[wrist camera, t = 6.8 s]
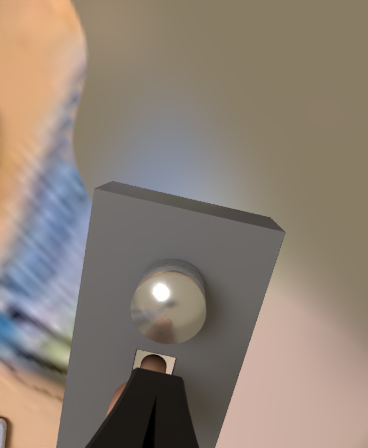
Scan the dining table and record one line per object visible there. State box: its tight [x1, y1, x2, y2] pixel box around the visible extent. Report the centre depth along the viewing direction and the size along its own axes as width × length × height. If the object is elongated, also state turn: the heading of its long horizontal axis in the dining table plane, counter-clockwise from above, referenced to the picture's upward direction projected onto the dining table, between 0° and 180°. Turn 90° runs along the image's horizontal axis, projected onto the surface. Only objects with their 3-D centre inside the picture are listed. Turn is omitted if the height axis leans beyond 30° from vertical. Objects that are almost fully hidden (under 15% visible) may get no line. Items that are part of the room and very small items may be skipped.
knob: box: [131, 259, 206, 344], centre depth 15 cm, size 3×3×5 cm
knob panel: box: [56, 181, 285, 448], centre depth 17 cm, size 18×9×3 cm, turn 167°
